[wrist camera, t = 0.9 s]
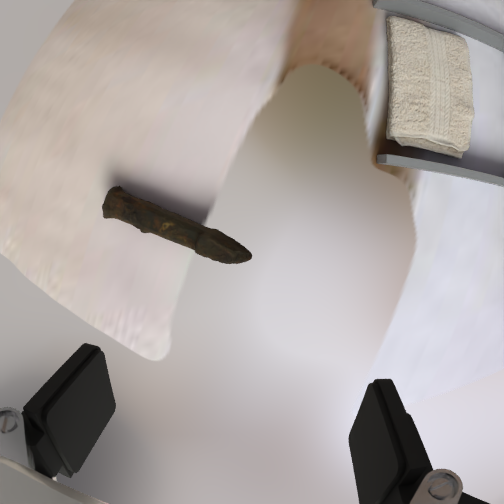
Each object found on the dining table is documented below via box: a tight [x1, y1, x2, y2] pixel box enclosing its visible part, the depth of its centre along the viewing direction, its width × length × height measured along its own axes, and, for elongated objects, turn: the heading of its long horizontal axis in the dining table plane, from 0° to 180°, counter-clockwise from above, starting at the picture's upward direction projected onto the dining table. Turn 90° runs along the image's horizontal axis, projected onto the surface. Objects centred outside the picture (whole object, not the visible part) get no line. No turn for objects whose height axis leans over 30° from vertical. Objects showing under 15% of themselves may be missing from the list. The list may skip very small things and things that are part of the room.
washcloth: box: [386, 16, 474, 159], centre depth 29 cm, size 12×18×3 cm, turn 177°
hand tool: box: [102, 186, 252, 264], centre depth 36 cm, size 19×4×5 cm, turn 66°
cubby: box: [373, 0, 504, 187], centre depth 28 cm, size 22×24×4 cm
